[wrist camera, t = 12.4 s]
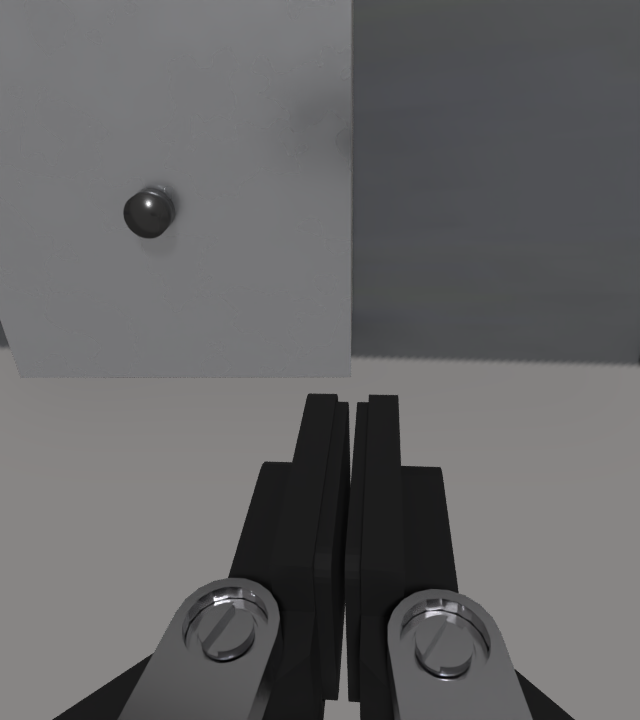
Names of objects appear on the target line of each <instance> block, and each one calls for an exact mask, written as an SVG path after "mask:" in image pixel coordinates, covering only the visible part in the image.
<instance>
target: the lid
mask: <svg viewBox="0 0 640 720" xmlns="http://www.w3.org/2000/svg"><path fill="white" fill-rule="evenodd" d="M0 320H1V323H2V326H3V329H4V332H5V334H6V337H7V340H8V343H9V346H10V349H11V351H12V355H13V357H14V360H15V363H16V366H17V369H18V372H19V374H20V377H21V378H22V377H24V378H25V377H26V378H27V377H28V378H29V377H351V0H0Z"/></svg>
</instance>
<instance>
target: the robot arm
mask: <svg viewBox="0 0 640 720" xmlns="http://www.w3.org/2000/svg"><path fill="white" fill-rule="evenodd" d="M349 440H350V439H349V404H348V402H338V396H337V394H308V396H307V399H306V404H305V408H304V413H303V417H302V422H301V426H300V431H299V435H298V439H297V444H296V448H295V453H294V457H293V461H292V462H264V463H263V464H262V467H261V469H260V473H259V476H258V480H257V483H256V486H255V489H254V493H253V496H252V499H251V503H250V506H249V510H248V513H247V516H246V520H245V523H244V527H243V530H242V533H241V536H240V540H239V543H238V546H237V550H236V554H235V556H234V560H233V563H232V567H231V570H230V573H229V577H228V578H226V579H221V580H217V581H213V582H211V583H209V584H207V585H204V586H202V587H200V588H198V589H197V590H196V591H195V592H194V593H192V594H191V595H190V596H189V597H187V598H186V599H185V601H184V602H183V603H182V605H181V606H180V607H179V609H178V610H177V611H176V613H175V615H174V617H173V618H172V621H171V622H170V624H169V626H168V628H167V630H166V631H165V633H164V635H163V637H162V639H161V641H160V642H159V644H158V646H157V648H156V650H155V652H154V653H153V654H151V655H150V656H148V657H147V658H145V659H144V660H142V661H141V662H139V663H138V664H136V665H135V666H133V667H132V668H130V669H129V670H127V671H125V672H124V673H122V674H121V675H120V676H118V677H116V678H115V679H113V680H112V681H110V682H109V683H107V684H106V685H104V686H103V687H101V688H100V689H98V690H97V691H95V692H94V693H92V694H91V695H89V696H88V697H86V698H85V699H83V700H81V701H80V702H78V703H77V704H76V705H74V706H73V707H71V708H69V709H68V710H66V711H65V712H63V713H62V714H61V715H59V716H57V717H56V718H54V719H53V720H323V718H324V706H325V700H338V693H339V680H340V667H341V653H342V652H341V651H342V639H343V625H344V612H345V607H346V638H347V668H348V699H349V701H350V702H360V719H361V720H575V719H573V718H572V717H571V716H570V715H568V714H567V713H566V712H565V711H564V710H563V709H562V708H560V707H559V706H558V705H557V704H556V703H554V702H553V701H552V700H551V699H550V698H548V697H547V696H546V695H545V694H544V693H542V692H541V691H540V690H539V689H538V688H537V687H535V686H534V685H533V684H532V683H531V682H529V681H528V680H527V679H526V678H525V677H524V676H522V675H521V674H520V673H519V672H518V671H516V670H515V669H514V667H513V664H512V662H511V659H510V656H509V653H508V650H507V648H506V645H505V643H504V640H503V637H502V634H501V632H500V630H499V628H498V627H497V625H496V623H495V621H494V619H493V617H492V616H491V615H490V614H489V613H488V612H486V610H485V609H484V608H483V607H482V606H481V605H480V604H478V603H477V602H475V601H473V600H472V599H470V598H469V597H466V596H465V595H462V594H459V592H458V585H457V578H456V570H455V563H454V555H453V548H452V541H451V534H450V526H449V519H448V511H447V504H446V497H445V490H444V482H443V475H442V470H441V468H440V467H418V466H417V467H415V466H401V455H400V430H399V404H398V395H369V402H358V403H357V412H356V426H355V438H354V451H353V463H352V476H351V484H350V443H349V442H350V441H349Z"/></svg>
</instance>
